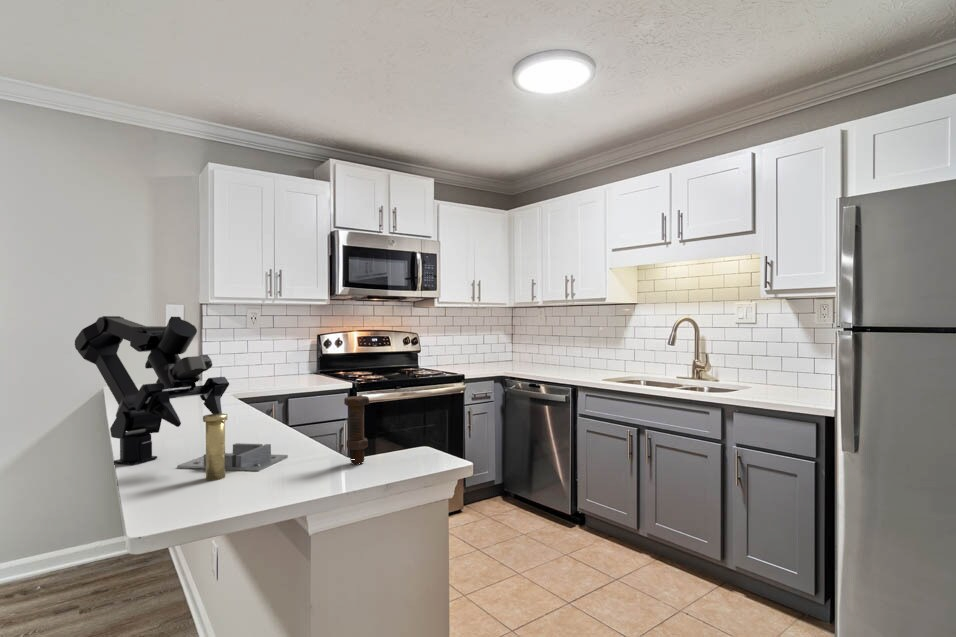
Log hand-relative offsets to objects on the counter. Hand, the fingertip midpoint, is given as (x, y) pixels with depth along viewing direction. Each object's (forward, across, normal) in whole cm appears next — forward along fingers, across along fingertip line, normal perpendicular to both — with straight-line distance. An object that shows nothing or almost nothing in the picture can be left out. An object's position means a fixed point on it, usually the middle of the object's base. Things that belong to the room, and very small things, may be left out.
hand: (200, 421), depth 113 cm
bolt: (+25, +22, -8) cm, 35 cm away
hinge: (+6, +10, +10) cm, 15 cm away
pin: (+12, 0, +4) cm, 12 cm away
